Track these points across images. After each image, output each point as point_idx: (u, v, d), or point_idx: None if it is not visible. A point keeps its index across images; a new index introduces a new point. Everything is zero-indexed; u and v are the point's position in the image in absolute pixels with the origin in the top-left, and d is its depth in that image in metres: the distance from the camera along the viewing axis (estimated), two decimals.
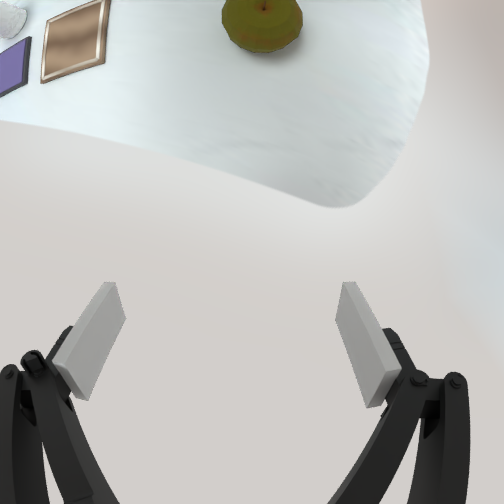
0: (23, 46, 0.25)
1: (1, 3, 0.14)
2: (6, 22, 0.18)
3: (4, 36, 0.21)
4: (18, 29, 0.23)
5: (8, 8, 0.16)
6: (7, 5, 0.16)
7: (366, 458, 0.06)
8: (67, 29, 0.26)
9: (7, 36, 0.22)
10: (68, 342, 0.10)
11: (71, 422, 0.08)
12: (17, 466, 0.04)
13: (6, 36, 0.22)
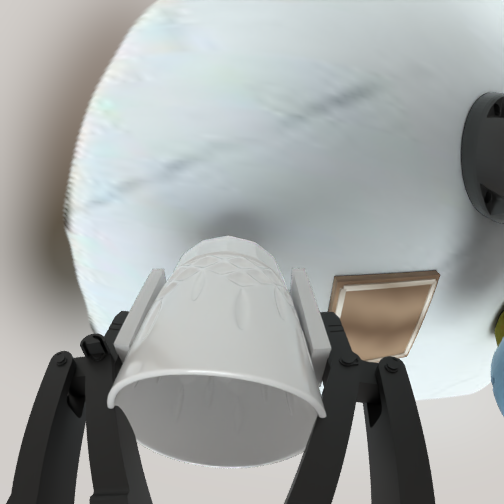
0: None
1: (315, 383, 0.09)
2: None
3: None
4: None
5: None
6: (306, 348, 0.10)
7: (310, 445, 0.07)
8: (377, 313, 0.28)
9: None
10: (128, 325, 0.12)
11: (123, 412, 0.09)
12: (49, 459, 0.05)
13: None
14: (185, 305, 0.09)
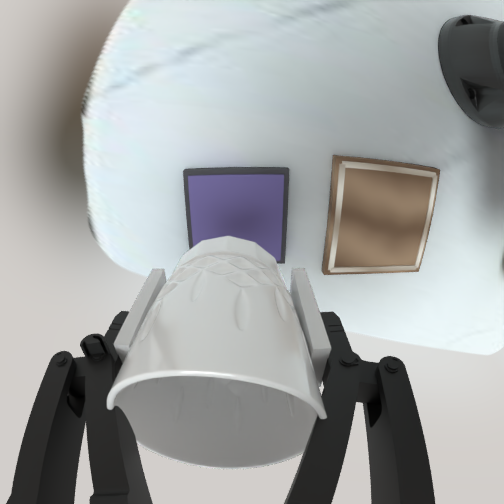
0: (279, 189, 0.26)
1: (316, 384, 0.09)
2: None
3: None
4: None
5: None
6: (307, 349, 0.10)
7: (310, 445, 0.07)
8: (380, 202, 0.27)
9: None
10: (128, 325, 0.12)
11: (123, 412, 0.09)
12: (49, 459, 0.05)
13: None
14: (185, 305, 0.09)
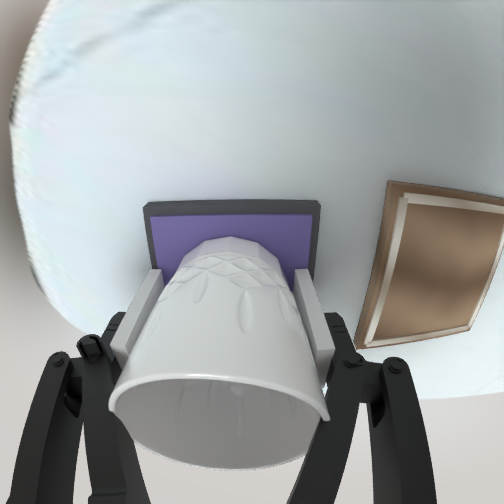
0: (302, 238, 0.16)
1: (319, 386, 0.09)
2: None
3: None
4: None
5: None
6: (310, 350, 0.10)
7: (313, 446, 0.07)
8: (446, 252, 0.17)
9: None
10: (124, 326, 0.12)
11: None
12: (47, 459, 0.05)
13: None
14: (188, 307, 0.09)
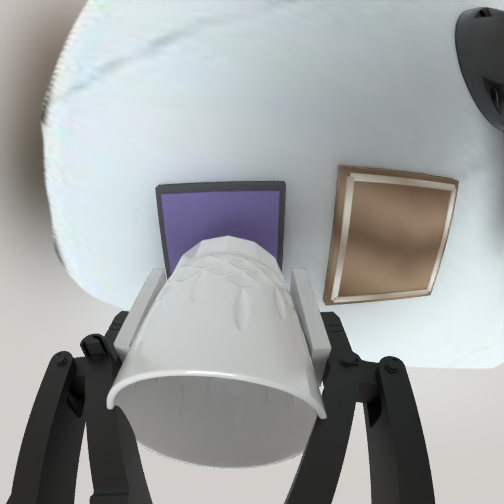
0: (273, 208, 0.22)
1: (316, 384, 0.09)
2: None
3: None
4: None
5: None
6: (307, 348, 0.10)
7: (310, 445, 0.07)
8: (393, 220, 0.23)
9: None
10: (128, 325, 0.12)
11: (123, 412, 0.09)
12: (49, 459, 0.05)
13: None
14: (185, 305, 0.09)
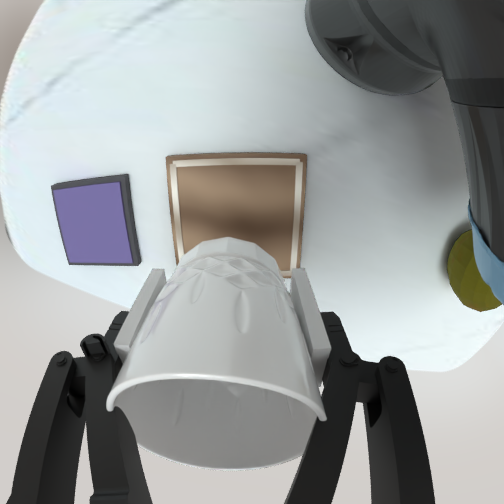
0: (117, 195, 0.26)
1: (316, 386, 0.09)
2: None
3: None
4: None
5: None
6: (307, 350, 0.10)
7: (310, 445, 0.07)
8: (225, 199, 0.26)
9: None
10: (128, 325, 0.12)
11: (123, 412, 0.09)
12: (49, 459, 0.05)
13: None
14: (185, 308, 0.09)
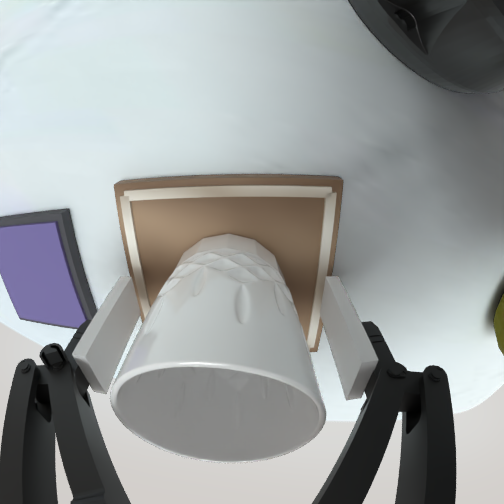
0: (56, 241, 0.16)
1: (314, 377, 0.09)
2: None
3: None
4: None
5: None
6: (306, 343, 0.11)
7: (348, 453, 0.06)
8: None
9: None
10: (88, 335, 0.11)
11: (88, 418, 0.08)
12: (27, 463, 0.05)
13: None
14: (187, 300, 0.10)
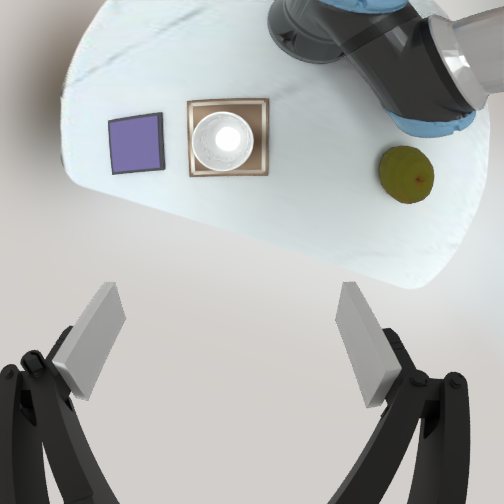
0: (155, 124, 0.41)
1: (249, 128, 0.34)
2: None
3: None
4: None
5: None
6: None
7: (366, 458, 0.06)
8: None
9: None
10: (68, 342, 0.10)
11: (71, 422, 0.08)
12: (17, 466, 0.04)
13: None
14: None
